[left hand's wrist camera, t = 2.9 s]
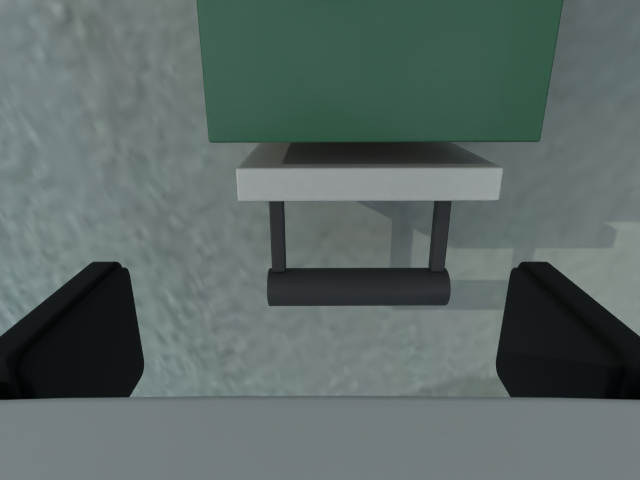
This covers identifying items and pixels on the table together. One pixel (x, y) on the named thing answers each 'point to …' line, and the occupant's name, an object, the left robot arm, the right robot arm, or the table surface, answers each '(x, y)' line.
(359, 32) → the cabinet
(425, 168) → the drawer
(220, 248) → the table surface
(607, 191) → the table surface
